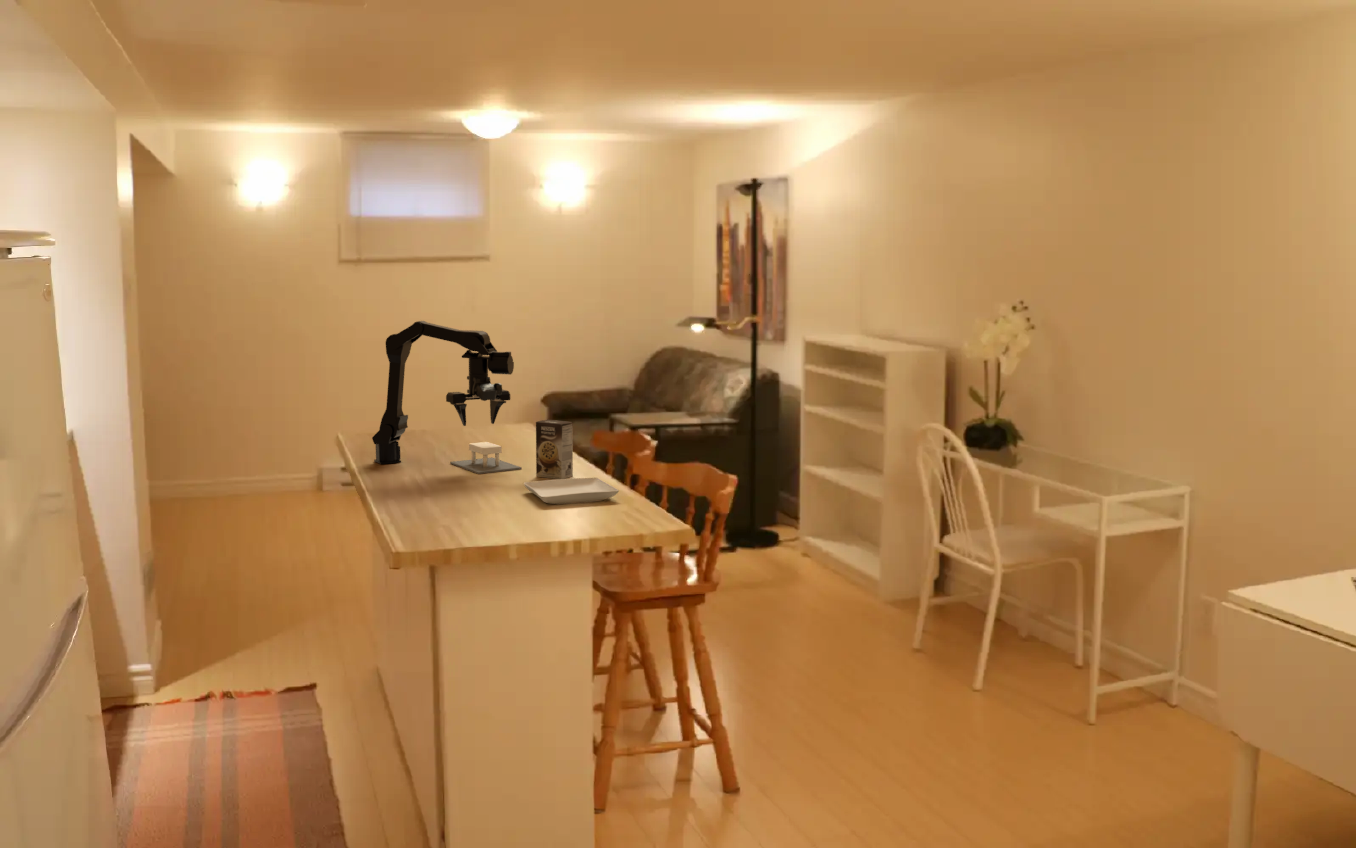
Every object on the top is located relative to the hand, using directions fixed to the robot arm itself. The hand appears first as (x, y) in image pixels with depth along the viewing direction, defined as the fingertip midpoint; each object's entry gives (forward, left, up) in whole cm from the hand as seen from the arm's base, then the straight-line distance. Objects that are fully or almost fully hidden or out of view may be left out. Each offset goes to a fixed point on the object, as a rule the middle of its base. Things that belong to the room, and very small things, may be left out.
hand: (478, 424), depth 360 cm
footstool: (+1, -2, -12) cm, 12 cm away
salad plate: (+1, -54, -13) cm, 56 cm away
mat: (+1, -2, -13) cm, 13 cm away
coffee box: (+11, -27, -13) cm, 32 cm away
